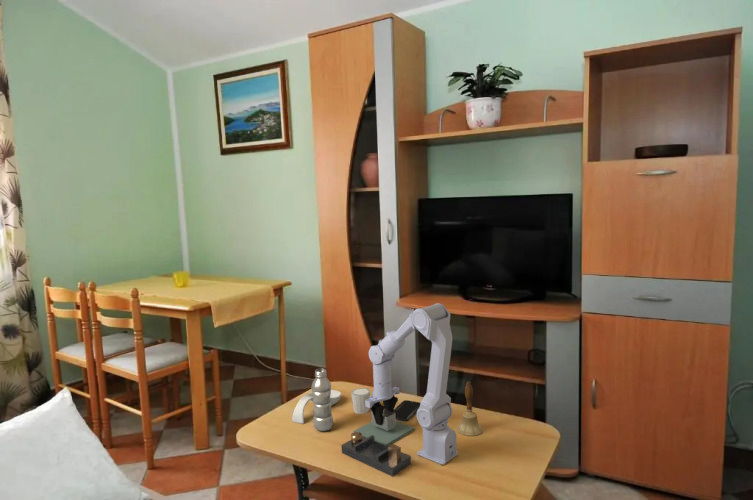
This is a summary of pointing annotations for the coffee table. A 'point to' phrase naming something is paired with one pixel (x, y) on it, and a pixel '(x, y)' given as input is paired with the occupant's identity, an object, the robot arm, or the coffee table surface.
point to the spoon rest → (305, 399)
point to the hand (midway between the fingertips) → (383, 421)
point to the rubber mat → (385, 432)
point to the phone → (406, 410)
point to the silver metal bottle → (322, 401)
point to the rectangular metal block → (385, 420)
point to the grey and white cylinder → (360, 400)
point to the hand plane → (376, 454)
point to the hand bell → (469, 416)
